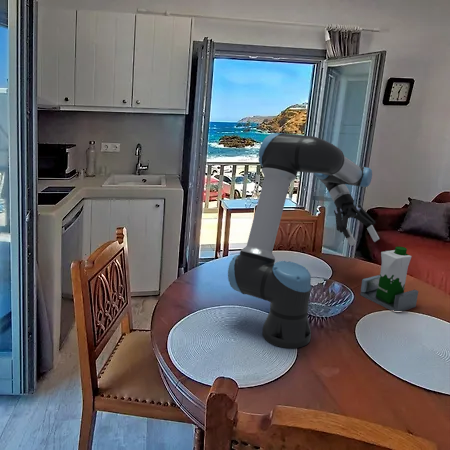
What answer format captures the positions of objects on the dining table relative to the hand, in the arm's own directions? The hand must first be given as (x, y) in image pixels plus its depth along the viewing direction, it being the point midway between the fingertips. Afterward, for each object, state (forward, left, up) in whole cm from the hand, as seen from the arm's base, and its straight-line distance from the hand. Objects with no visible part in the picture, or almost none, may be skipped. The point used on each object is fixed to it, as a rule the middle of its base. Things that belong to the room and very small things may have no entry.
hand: (365, 242), depth 174 cm
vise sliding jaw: (-6, -2, -18) cm, 19 cm away
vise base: (-13, -5, -19) cm, 24 cm away
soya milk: (-14, -5, -18) cm, 23 cm away
